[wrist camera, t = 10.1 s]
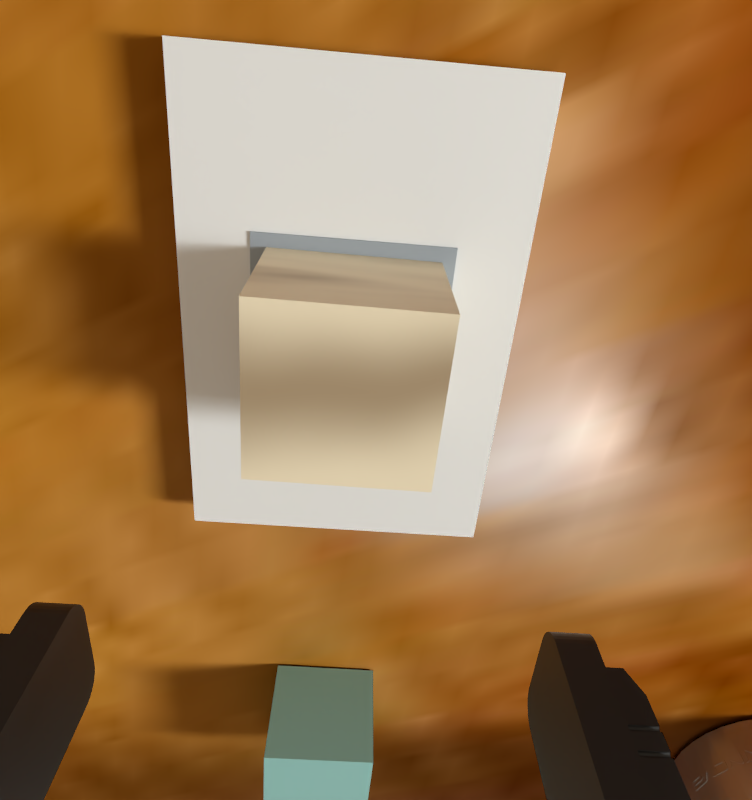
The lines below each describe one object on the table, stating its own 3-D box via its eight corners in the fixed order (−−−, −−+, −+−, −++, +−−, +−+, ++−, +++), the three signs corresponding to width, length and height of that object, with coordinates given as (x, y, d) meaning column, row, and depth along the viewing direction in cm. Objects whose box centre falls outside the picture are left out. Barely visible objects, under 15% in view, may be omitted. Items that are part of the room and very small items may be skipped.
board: (469, 519, 29) (473, 538, 28) (201, 502, 28) (194, 521, 27) (555, 72, 20) (566, 73, 19) (173, 36, 20) (161, 35, 18)
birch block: (420, 414, 25) (431, 492, 20) (264, 402, 24) (241, 478, 20) (442, 262, 22) (460, 314, 17) (266, 247, 21) (238, 295, 17)
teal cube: (365, 730, 36) (364, 823, 32) (276, 725, 36) (263, 819, 31) (372, 670, 34) (373, 763, 29) (278, 665, 33) (263, 757, 29)
